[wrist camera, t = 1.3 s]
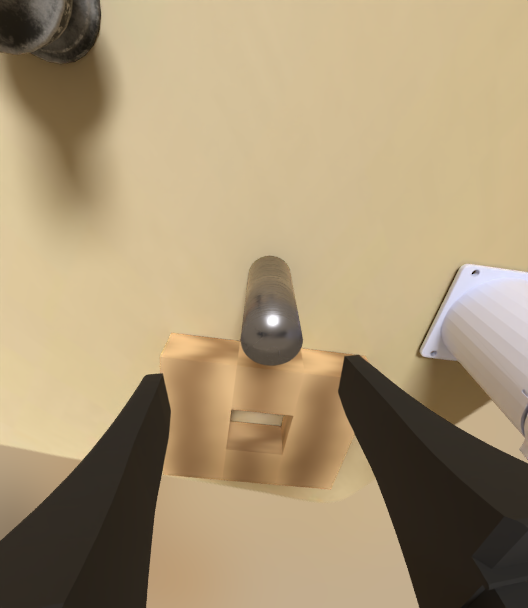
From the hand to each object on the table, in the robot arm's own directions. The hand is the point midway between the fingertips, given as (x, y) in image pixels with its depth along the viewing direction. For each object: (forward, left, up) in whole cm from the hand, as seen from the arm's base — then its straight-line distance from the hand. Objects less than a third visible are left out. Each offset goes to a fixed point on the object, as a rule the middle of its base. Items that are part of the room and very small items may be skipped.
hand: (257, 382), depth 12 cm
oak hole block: (-2, +13, -11) cm, 17 cm away
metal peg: (-1, 0, -11) cm, 11 cm away
